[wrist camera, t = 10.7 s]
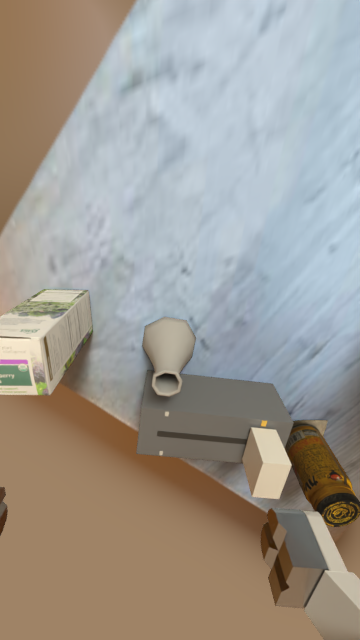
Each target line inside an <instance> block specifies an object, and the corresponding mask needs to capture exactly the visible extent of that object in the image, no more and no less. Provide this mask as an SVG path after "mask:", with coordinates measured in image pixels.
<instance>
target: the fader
mask: <svg viewBox="0 0 360 640" xmlns="http://www.w3.org/2000/svg"><path fill="white" fill-rule="evenodd" d="M242 460H243V464H244V468H245V472H246V476H247V479H248V483H249V487H250V491H251V495H252V497H260V498H272V499H279V498H280V495H281V492H282V490H283V487H284V484H285V482H286V479H287V476H288V474H289V471H290V468H291V466H292V465H291V462H290V460H289V458H288V456H287V453H286V451H285V449H284V447H283V444H282V442H281V440H280V437H279V435H278V433H277V431H276V430H273V429H263V428H253V427H251V430H250V434H249V437H248V441H247V444H246V448H245V451H244V455H243V458H242Z"/></svg>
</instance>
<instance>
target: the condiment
mask: <svg viewBox="0 0 360 640" xmlns="http://www.w3.org/2000/svg"><path fill="white" fill-rule="evenodd" d="M327 421H328V420H301V421H299V420H298V421H293V426H292V429H291V432H290V435H289V438H288V440H287V443H286V446H285V451H286V453H287V456H288V458H289V460H290V462H291V465H292V467H293V470H294V472H295V474H296V476H297V479H298V481H299V484H300V486H301V488H302V490H303V492H304V495H305V497H306V499H307V500H308V501H309V502H310V503H311V504H312V506H313V509H314V510H315V511H316V512H318V513H319V514H320V515H321V516H322V518H323V520H324V522H325V524H326V525H328V526H332V527H340V526H345V525H348V524H350V523H352V522H353V521H355V520H356V519H357V518H358V517H359V515H360V502H359V500H358V499H357V497H356V496H355V493H354V491H353V490H352V484H351V482H350V480H349V478H348V476H347V475H346V472H345V471H344V469H343V468H342V467H341V465H340V463H339V462H338V460H337V459H336V457H335V455H334V453H333V452H332V450H331V449H330V447H329V446H328V444H327V443H326V441H325V439H324V438H323V435H324V431H325V429H326V425H327Z"/></svg>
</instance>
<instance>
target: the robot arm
mask: <svg viewBox="0 0 360 640" xmlns="http://www.w3.org/2000/svg"><path fill="white" fill-rule="evenodd" d="M5 495H6V494H5V488H4V487H0V535H1V533H2V531H3V528H4V525H5V522H6V519H7V512H8V510H7V505H6V504H5V503H4V502H3V499H4V497H5ZM267 519H268V522H267V523H265V524H264V525H263V527H262V530H261V549H262V554H263V558H264V561H265V562H266V563H267V565H268V566H269V567H270V568H271V571H270V574H269V577H268V579H269V583H270V586H271V591H272V594H273V598H274V602H275V606H284V607H294V608H305V609H304V611H305V612H306V614H307V615H308V617H309V618H310V620H311V621H312V623H313V624H314V626H315V627H316V629H317V630H318V631H319V633H320V634H321V636H322V637H323V639H324V640H360V579H359V578H358V577H357V576H356V575H355V574H354V573H353V572H348V571H347V568H346V567H345V564H344V562H343V560H342V558H341V556H340V554H339V552H338V550H337V547H336V545H335V543H334V541H333V539H332V537H331V535H330V533H329V531H328V529H327V526H326V524H325V522H324V520H323V518H322V516H321V515H320V514H319V513H318V512H316V511H301V510H294V509H278V508H271V509H269V511H268V513H267Z"/></svg>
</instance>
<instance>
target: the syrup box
mask: <svg viewBox="0 0 360 640" xmlns="http://www.w3.org/2000/svg"><path fill="white" fill-rule="evenodd" d="M92 332H93V329H92V320H91V310H90V300H89V292H88V290H50V289H44V290H42V291H40V292H39V293H37V294H35V295H34V296H32V297H31V298H29V299H28V300H26V301H24V302H23V303H21V304H20V305H18V306H16V307H15V308H13V309H11V310H10V311H8V312H7V313H5V314H4V315H2V316H0V395H51V393H52V392H53V390H54V389H55V387H56V386H57V385H58V383H59V382H60V380H61V379H62V377H63V375H64V374H65V372H66V371H67V369H68V368H69V366H70V365H71V363H72V362H73V360H74V359H75V357H76V356H77V354H78V353H79V351H80V350H81V348H82V347H83V345H84V344H85V342H86V341H87V339H88V338H89V336H90V335H91V333H92Z"/></svg>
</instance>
